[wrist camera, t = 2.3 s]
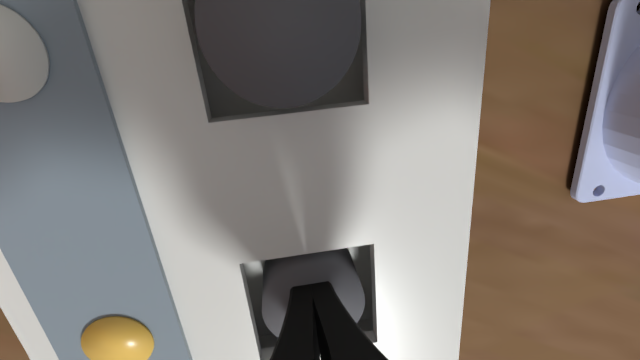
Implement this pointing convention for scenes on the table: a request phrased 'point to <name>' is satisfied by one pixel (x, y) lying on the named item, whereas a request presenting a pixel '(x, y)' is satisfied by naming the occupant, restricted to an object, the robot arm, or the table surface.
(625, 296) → the table surface
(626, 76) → the robot arm
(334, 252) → the button
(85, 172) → the button board
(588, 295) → the table surface
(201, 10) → the button middle
